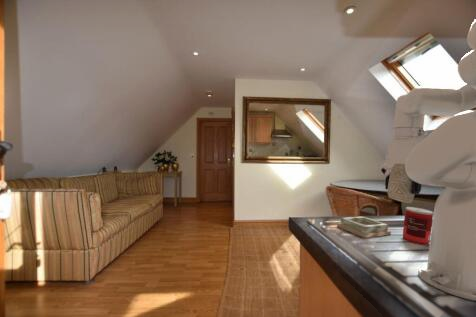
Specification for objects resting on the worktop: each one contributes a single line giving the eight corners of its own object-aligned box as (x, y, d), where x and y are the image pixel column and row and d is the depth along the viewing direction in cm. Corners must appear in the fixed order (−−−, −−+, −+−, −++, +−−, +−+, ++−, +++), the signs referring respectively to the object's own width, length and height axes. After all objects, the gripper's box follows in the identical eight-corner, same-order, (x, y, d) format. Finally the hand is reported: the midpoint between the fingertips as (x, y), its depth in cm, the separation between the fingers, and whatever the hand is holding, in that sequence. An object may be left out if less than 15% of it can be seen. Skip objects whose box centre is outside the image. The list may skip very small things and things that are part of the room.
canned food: (419, 237, 87) (423, 208, 86) (435, 246, 79) (439, 213, 78) (397, 235, 87) (400, 205, 87) (410, 243, 80) (414, 211, 79)
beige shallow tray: (365, 237, 81) (366, 227, 81) (337, 226, 92) (338, 217, 92) (390, 234, 88) (391, 225, 87) (361, 224, 98) (362, 215, 98)
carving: (419, 205, 70) (423, 164, 70) (390, 201, 73) (393, 162, 72) (410, 201, 76) (414, 164, 76) (384, 198, 79) (387, 162, 78)
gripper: (447, 135, 68) (441, 197, 68) (387, 136, 83) (382, 187, 84) (433, 132, 65) (426, 197, 65) (373, 134, 80) (368, 186, 81)
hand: (401, 191), depth 74 cm, fingers closed on carving, 7 cm apart
